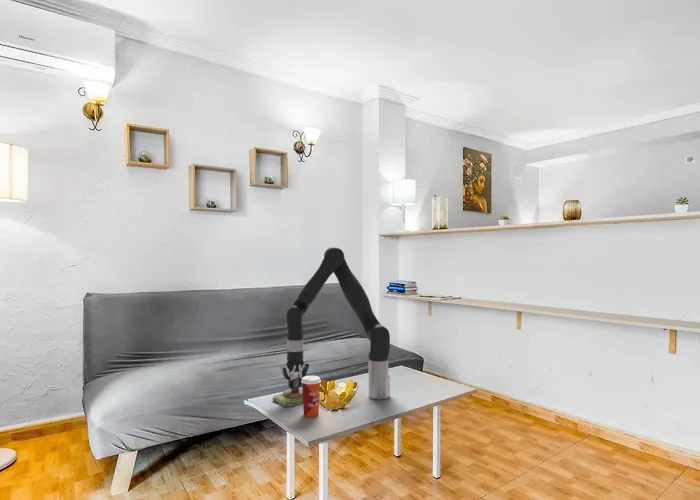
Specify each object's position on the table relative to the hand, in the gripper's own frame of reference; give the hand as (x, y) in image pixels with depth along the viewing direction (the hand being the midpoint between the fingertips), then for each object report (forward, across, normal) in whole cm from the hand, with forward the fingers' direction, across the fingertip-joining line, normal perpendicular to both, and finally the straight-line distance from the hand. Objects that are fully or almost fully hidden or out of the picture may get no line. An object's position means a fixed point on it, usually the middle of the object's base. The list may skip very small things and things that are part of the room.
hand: (295, 387), depth 191 cm
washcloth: (+6, 0, 0) cm, 6 cm away
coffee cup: (+6, -3, -20) cm, 21 cm away
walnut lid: (+3, 0, 0) cm, 3 cm away
